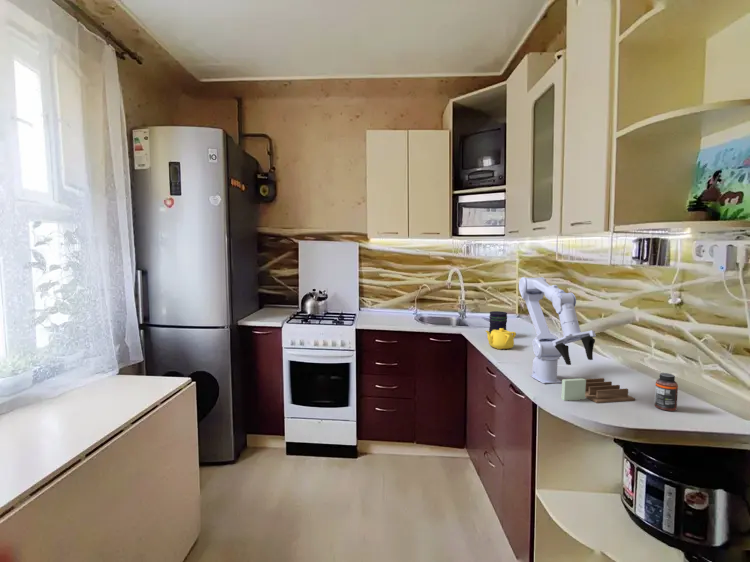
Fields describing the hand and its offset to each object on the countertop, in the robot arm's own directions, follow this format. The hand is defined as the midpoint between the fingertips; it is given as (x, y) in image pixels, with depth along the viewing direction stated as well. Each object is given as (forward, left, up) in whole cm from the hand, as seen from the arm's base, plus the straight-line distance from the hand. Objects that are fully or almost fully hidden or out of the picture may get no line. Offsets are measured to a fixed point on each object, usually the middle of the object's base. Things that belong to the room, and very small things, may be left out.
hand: (579, 362), depth 139 cm
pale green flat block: (-1, -1, -13) cm, 14 cm away
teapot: (-73, +9, -14) cm, 75 cm away
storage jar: (-95, +19, -14) cm, 98 cm away
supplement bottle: (+11, +24, -14) cm, 30 cm away
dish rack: (-4, +12, -13) cm, 19 cm away
